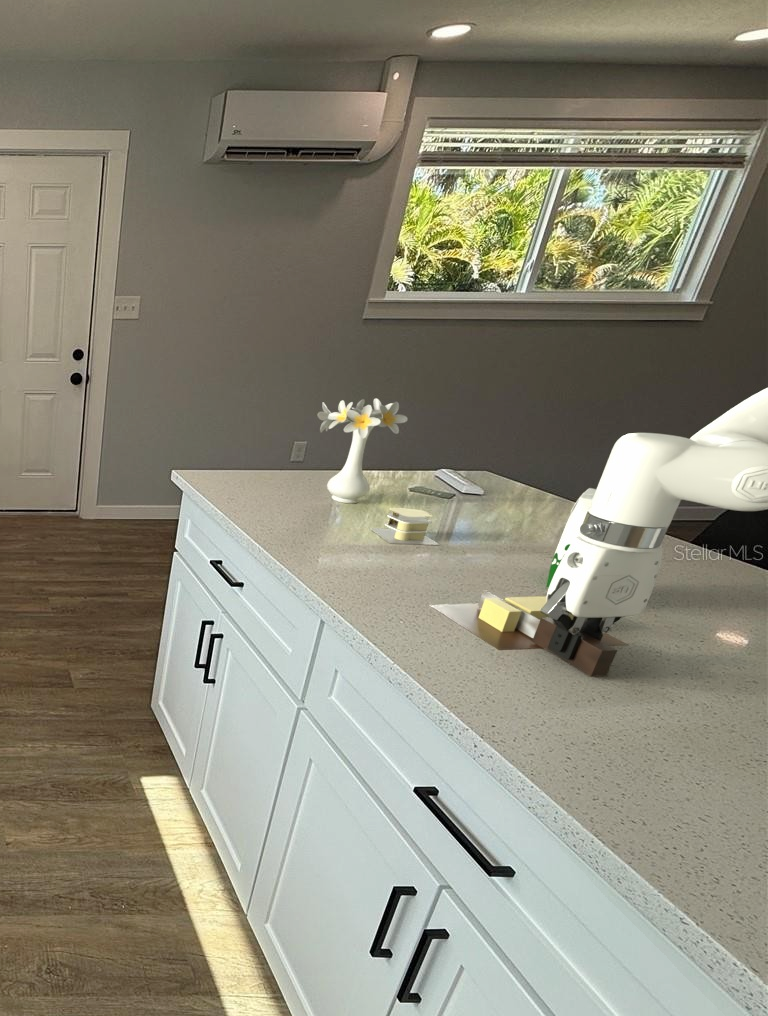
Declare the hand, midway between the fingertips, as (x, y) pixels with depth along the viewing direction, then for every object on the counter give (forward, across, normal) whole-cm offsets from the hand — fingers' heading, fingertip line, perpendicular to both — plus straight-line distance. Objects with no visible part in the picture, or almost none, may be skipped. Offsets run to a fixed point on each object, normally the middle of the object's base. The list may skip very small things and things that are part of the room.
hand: (569, 653), depth 88 cm
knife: (+1, 0, +6) cm, 6 cm away
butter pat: (+1, -2, +10) cm, 10 cm away
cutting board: (+3, +3, +10) cm, 11 cm away
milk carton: (+3, +23, +21) cm, 31 cm away
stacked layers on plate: (+3, +13, +50) cm, 52 cm away
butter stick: (+1, +5, +10) cm, 11 cm away
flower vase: (+3, +15, +75) cm, 76 cm away
